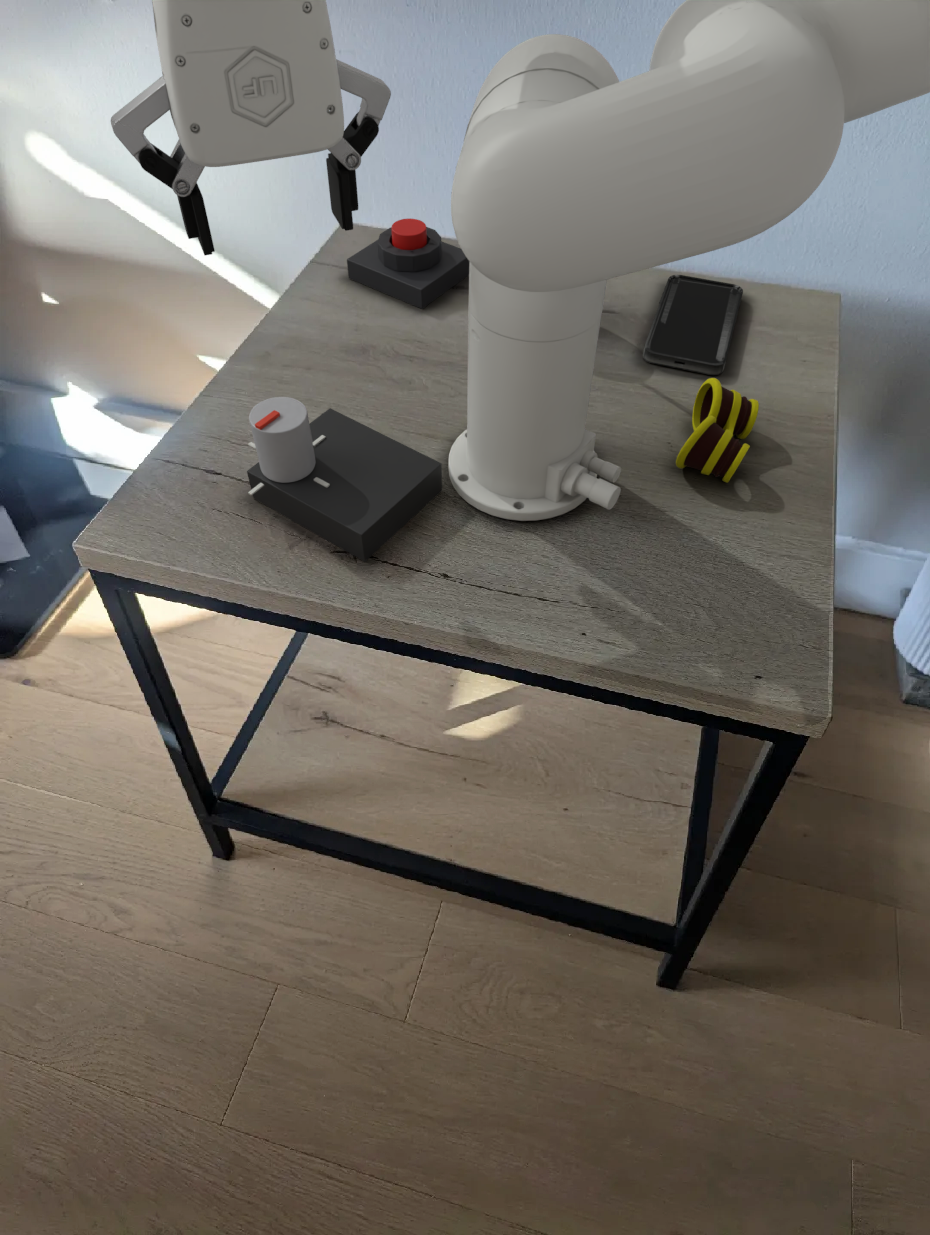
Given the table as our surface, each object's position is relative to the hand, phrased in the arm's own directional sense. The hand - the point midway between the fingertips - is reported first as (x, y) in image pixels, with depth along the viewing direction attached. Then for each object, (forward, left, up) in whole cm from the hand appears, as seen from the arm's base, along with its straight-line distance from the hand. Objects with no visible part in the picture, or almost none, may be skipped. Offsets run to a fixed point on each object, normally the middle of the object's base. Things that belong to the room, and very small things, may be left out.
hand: (275, 233), depth 60 cm
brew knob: (-2, +5, -16) cm, 17 cm away
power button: (+11, -28, -16) cm, 34 cm away
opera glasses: (-28, -21, -20) cm, 40 cm away
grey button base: (+11, -28, -19) cm, 36 cm away
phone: (-18, -37, -20) cm, 45 cm away
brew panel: (-5, +3, -19) cm, 20 cm away
